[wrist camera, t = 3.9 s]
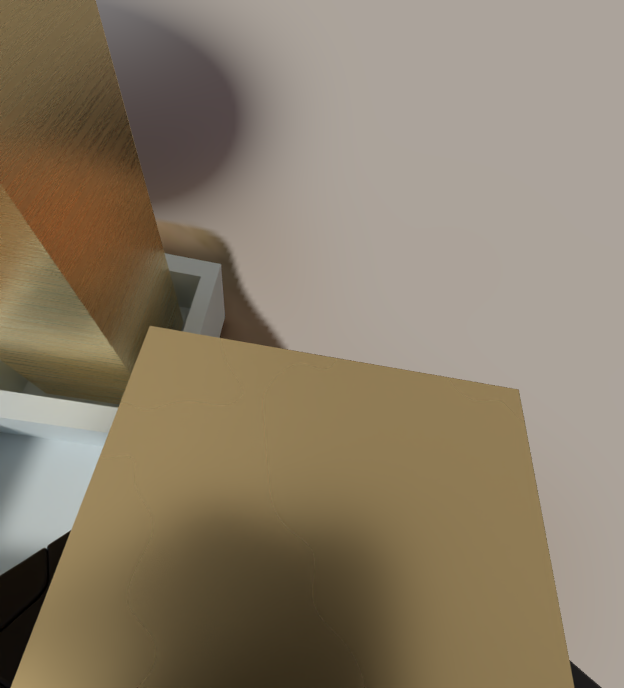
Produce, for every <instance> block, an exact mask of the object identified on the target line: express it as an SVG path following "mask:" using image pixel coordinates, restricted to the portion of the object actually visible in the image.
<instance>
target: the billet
mask: <svg viewBox="0 0 624 688" xmlns="http://www.w3.org/2000/svg"><path fill="white" fill-rule="evenodd" d="M11 688H574V683H573V677H572V672H571V667H570V661H569V656H568V651H567V645H566V640H565V635H564V629H563V624H562V618H561V613H560V608H559V602H558V597H557V592H556V587H555V581H554V576H553V570H552V565H551V560H550V554H549V549H548V544H547V538H546V533H545V528H544V522H543V517H542V512H541V507H540V501H539V496H538V490H537V485H536V480H535V474H534V469H533V464H532V458H531V453H530V447H529V442H528V437H527V432H526V426H525V421H524V416H523V410H522V405H521V400H520V394H519V390H518V389H512V388H507V387H500V386H495V385H489V384H483V383H478V382H472V381H466V380H460V379H454V378H449V377H442V376H437V375H431V374H426V373H420V372H414V371H408V370H402V369H397V368H390V367H385V366H379V365H374V364H368V363H362V362H356V361H351V360H344V359H339V358H333V357H326V356H322V355H316V354H309V353H304V352H299V351H293V350H287V349H281V348H275V347H270V346H264V345H258V344H252V343H247V342H241V341H235V340H229V339H223V338H218V337H212V336H206V335H200V334H195V333H189V332H183V331H177V330H171V329H166V328H160V327H154V326H150V327H149V329H148V332H147V334H146V337H145V340H144V342H143V345H142V347H141V350H140V353H139V355H138V358H137V360H136V363H135V366H134V368H133V371H132V373H131V376H130V379H129V381H128V384H127V386H126V389H125V392H124V394H123V397H122V399H121V402H120V405H119V407H118V410H117V412H116V415H115V418H114V420H113V423H112V425H111V428H110V431H109V433H108V436H107V438H106V441H105V444H104V446H103V449H102V451H101V454H100V457H99V459H98V462H97V464H96V467H95V470H94V472H93V475H92V477H91V480H90V483H89V485H88V488H87V490H86V493H85V496H84V498H83V501H82V503H81V506H80V509H79V511H78V514H77V516H76V519H75V522H74V524H73V527H72V529H71V532H70V535H69V537H68V540H67V542H66V545H65V548H64V550H63V553H62V555H61V558H60V561H59V563H58V566H57V568H56V571H55V574H54V576H53V579H52V581H51V584H50V587H49V589H48V592H47V594H46V597H45V600H44V602H43V605H42V607H41V610H40V613H39V615H38V618H37V620H36V623H35V626H34V628H33V631H32V633H31V636H30V639H29V641H28V644H27V646H26V649H25V652H24V654H23V657H22V659H21V662H20V665H19V667H18V670H17V672H16V675H15V678H14V680H13V683H12V685H11Z"/></svg>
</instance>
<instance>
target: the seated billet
mask: <svg viewBox="0 0 624 688" xmlns="http://www.w3.org/2000/svg"><path fill="white" fill-rule="evenodd" d="M183 324H184V322H183V319H182V315H181V312H180V308H179V304H178V301H177V297H176V293H175V290H174V286H173V282H172V279H171V275H170V271H169V268H168V264H167V260H166V257H165V253H164V249H163V246H162V242H161V238H160V235H159V231H158V227H157V224H156V220H155V216H154V213H153V210H152V205H151V202H150V199H149V195H148V191H147V187H146V184H145V180H144V176H143V173H142V169H141V165H140V162H139V158H138V155H137V151H136V147H135V144H134V140H133V136H132V133H131V129H130V125H129V121H128V118H127V114H126V111H125V107H124V103H123V100H122V96H121V92H120V89H119V85H118V81H117V77H116V74H115V70H114V67H113V63H112V59H111V56H110V52H109V48H108V45H107V41H106V37H105V34H104V30H103V27H102V23H101V19H100V15H99V12H98V8H97V4H96V1H95V0H0V360H1V361H3V362H4V363H5V364H7V365H8V366H9V367H11V368H12V369H14V370H15V371H16V372H18V373H19V374H20V375H22V376H23V377H24V378H26V379H27V380H28V381H30V382H31V383H33V384H34V385H35V386H37V387H38V388H39V389H41V390H42V391H43V392H45V393H46V394H53V395H60V396H66V397H73V398H79V399H86V400H93V401H99V402H106V403H112V404H119V405H120V402H121V399H122V397H123V394H124V392H125V389H126V386H127V384H128V381H129V379H130V376H131V373H132V371H133V368H134V366H135V363H136V360H137V358H138V355H139V353H140V350H141V347H142V345H143V342H144V340H145V337H146V334H147V332H148V329H149V327H150V326H154V327H160V328H166V329H171V330H177V331H181V330H182V327H183Z"/></svg>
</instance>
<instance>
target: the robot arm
mask: <svg viewBox="0 0 624 688" xmlns="http://www.w3.org/2000/svg"><path fill="white" fill-rule="evenodd" d="M70 532H71V530H70V531H69V532H67V533H65V534H64V535H62V536H61V537H59V538H58V539H56V540H55V541H53V542H52V543H50V544H49V545H48V546H47V548H42V549H41V550H39V551H38V552H36V553H34V554H33V555H31V556H30V557H28V558H27V559H25V560H24V561H22V562H21V563H19V564H17V565H16V566H14V567H13V568H11V569H9V570H8V571H6V572H5V573H3V574H1V575H0V688H11V685H12V683H13V680H14V678H15V675H16V672H17V670H18V667H19V665H20V662H21V659H22V657H23V654H24V652H25V649H26V646H27V644H28V641H29V639H30V636H31V633H32V631H33V628H34V626H35V623H36V620H37V618H38V615H39V613H40V610H41V607H42V605H43V602H44V600H45V597H46V594H47V592H48V589H49V587H50V584H51V581H52V579H53V576H54V574H55V571H56V568H57V566H58V563H59V561H60V558H61V555H62V553H63V550H64V548H65V545H66V542H67V540H68V537H69V535H70ZM569 661H570V660H569ZM570 667H571V672H572V677H573V683H574V688H601V687H600V686H599V685H598V684H597V683H595V682H594V681H593V680H592V679H591V678H589V677H588V676H587V675H586V674H585V673H584V672H582V671H581V670H580V669H579V668H578V667H577V666H576V665H574V664H573V663H572V662H571V661H570Z"/></svg>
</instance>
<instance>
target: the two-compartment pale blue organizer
mask: <svg viewBox="0 0 624 688" xmlns="http://www.w3.org/2000/svg"><path fill="white" fill-rule="evenodd" d="M165 257H166V260H167V264H168V268H169V271H170V275H171V279H172V282H173V286H174V290H175V293H176V297H177V301H178V304H179V308H180V312H181V315H182V319H183V322H184V324H183V327H182V330H181V331H183V332H189V333H195V334H200V335H206V336H212V337H218V338H220V334H221V330H222V326H223V323H224V319H225V309H224V297H223V284H222V271H221V264H218V263H213V262H207V261H202V260H197V259H192V258H187V257H181V256H176V255H171V254H166V253H165ZM118 407H119V404H112V403H106V402H99V401H93V400H86V399H79V398H73V397H66V396H60V395H53V394H46V393H45V392H43V391H42V390H41V389H39V388H38V387H37V386H35V385H34V384H33V383H31V382H30V381H28V380H27V379H26V378H24V377H23V376H22V375H20V374H19V373H18V372H16V371H15V370H14V369H12V368H11V367H9V366H8V365H7V364H5V363H4V362H3V361H1V360H0V575H1V574H3V573H5V572H6V571H8V570H9V569H11V568H13V567H14V566H16V565H17V564H19V563H21V562H22V561H24V560H25V559H27V558H28V557H30V556H31V555H33V554H34V553H36V552H38V551H39V550H41V549H42V548H47V546H48V545H49V544H50V543H52V542H53V541H55V540H56V539H58V538H59V537H61V536H62V535H64V534H65V533H67V532H69V531H70V530H71V529H72V527H73V524H74V522H75V519H76V516H77V514H78V511H79V509H80V506H81V503H82V501H83V498H84V496H85V493H86V490H87V488H88V485H89V483H90V480H91V477H92V475H93V472H94V470H95V467H96V464H97V462H98V459H99V457H100V454H101V451H102V449H103V446H104V444H105V441H106V438H107V436H108V433H109V431H110V428H111V425H112V423H113V420H114V418H115V415H116V412H117V410H118Z"/></svg>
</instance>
